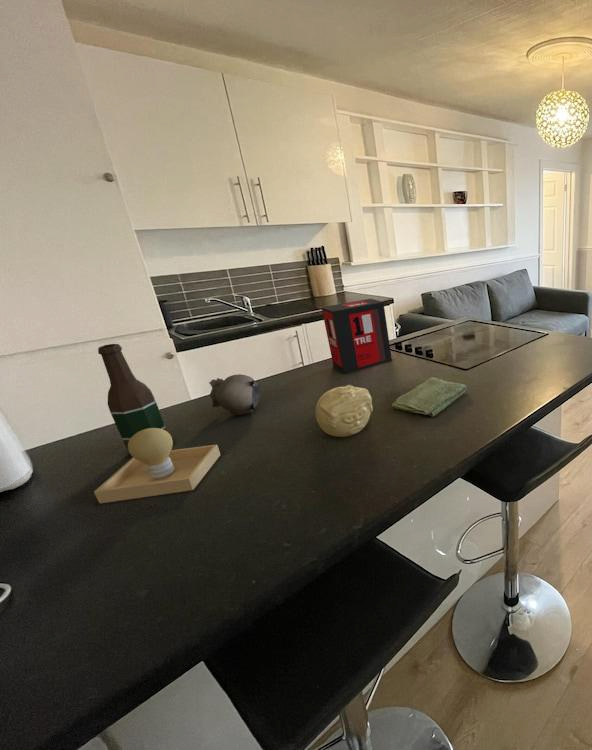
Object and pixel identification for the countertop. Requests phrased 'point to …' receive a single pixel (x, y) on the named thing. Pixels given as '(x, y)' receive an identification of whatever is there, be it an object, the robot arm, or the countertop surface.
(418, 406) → the washcloth
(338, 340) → the cleaning product box
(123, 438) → the beer bottle
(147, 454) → the light bulb
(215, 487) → the countertop surface
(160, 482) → the pale tray
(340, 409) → the sculpture
